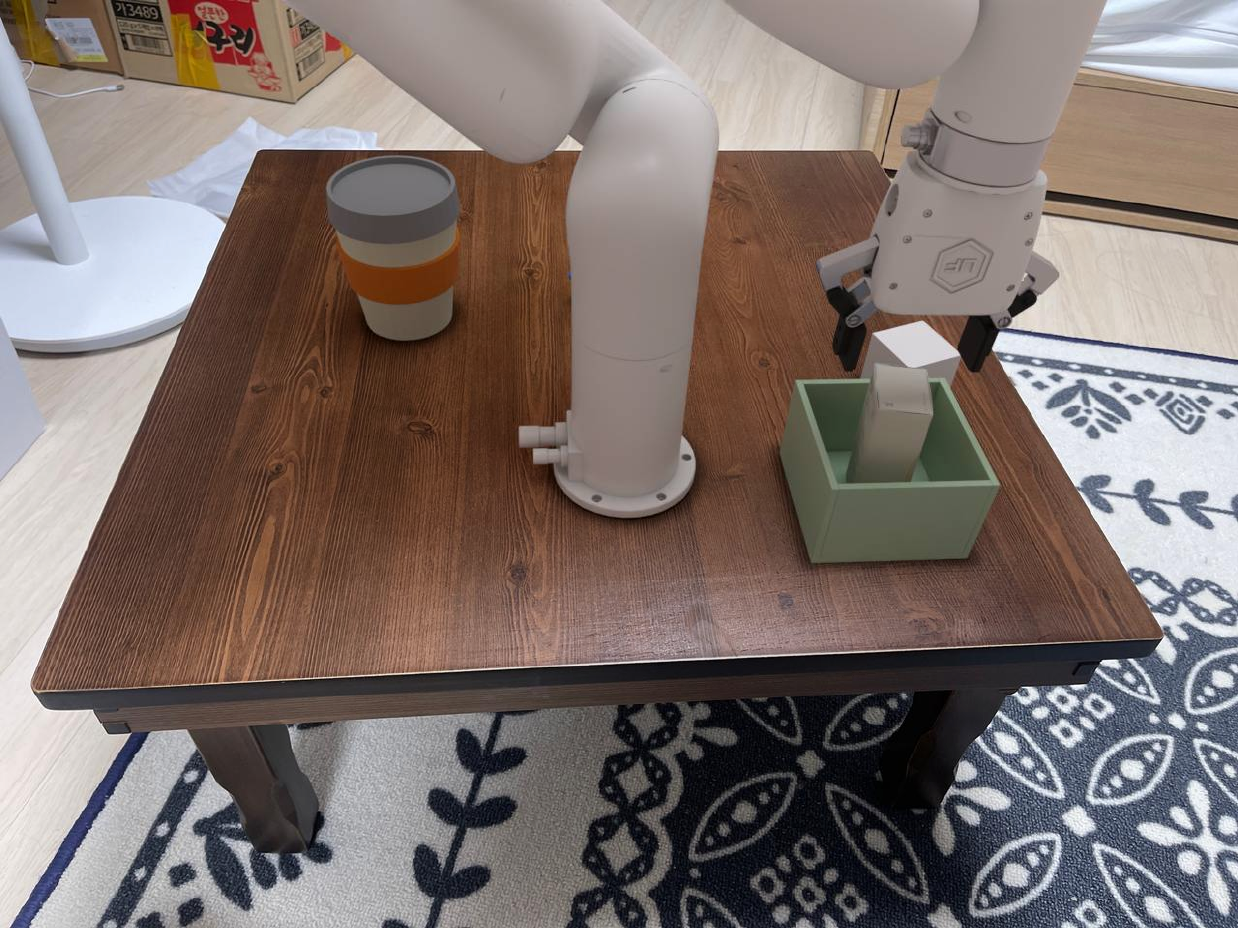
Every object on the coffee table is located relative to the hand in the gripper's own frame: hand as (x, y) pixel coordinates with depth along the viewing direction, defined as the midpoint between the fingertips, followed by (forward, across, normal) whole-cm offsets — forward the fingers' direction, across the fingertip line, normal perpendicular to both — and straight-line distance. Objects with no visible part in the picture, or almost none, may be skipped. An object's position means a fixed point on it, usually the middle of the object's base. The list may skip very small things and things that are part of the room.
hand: (906, 361), depth 71 cm
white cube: (+16, +8, +15) cm, 23 cm away
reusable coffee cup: (+17, -41, +29) cm, 53 cm away
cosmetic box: (+15, +1, 0) cm, 15 cm away
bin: (+15, +1, 0) cm, 15 cm away
